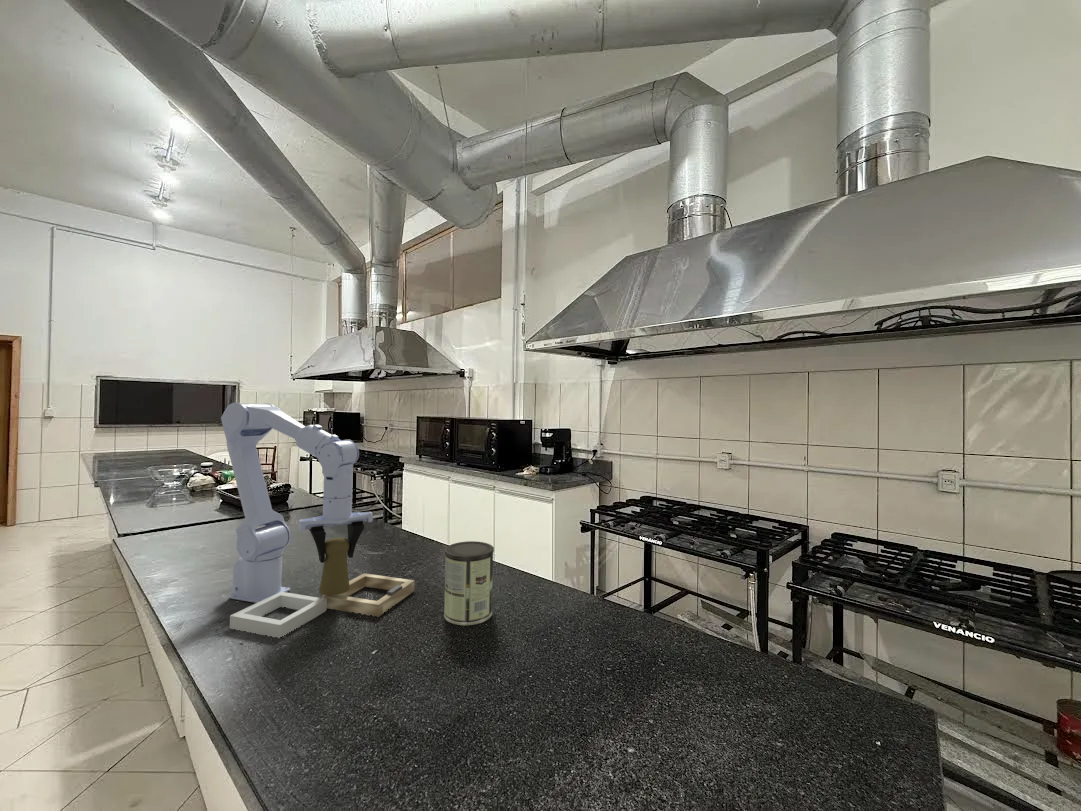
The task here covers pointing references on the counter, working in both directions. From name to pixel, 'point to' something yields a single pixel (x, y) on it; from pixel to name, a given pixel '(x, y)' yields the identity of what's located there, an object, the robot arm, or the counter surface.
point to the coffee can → (468, 582)
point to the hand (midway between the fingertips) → (336, 558)
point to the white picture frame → (255, 623)
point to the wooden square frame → (370, 607)
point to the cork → (335, 567)
